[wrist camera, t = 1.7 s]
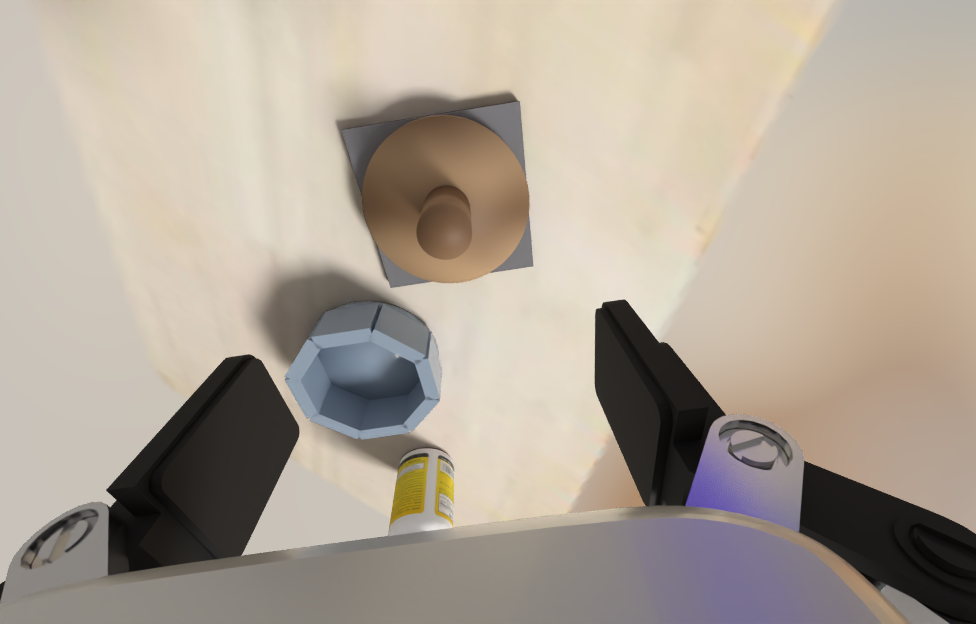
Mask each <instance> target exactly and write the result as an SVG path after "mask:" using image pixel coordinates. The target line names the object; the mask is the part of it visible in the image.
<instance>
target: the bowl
mask: <svg viewBox="0 0 976 624" xmlns="http://www.w3.org/2000/svg"><path fill="white" fill-rule="evenodd" d="M285 377H286V379H285V382H286V383H287V385H288V387H289V389H290V390H291V392H292V394H293V396H294V397H295V399H296V401H297V402H298V404H299V406H300V408H301V409H302V411H303V413H304V415H305V416H306V418H311V419H310V421H312V422H314V423H317V424H319V425H322V426H325V427H327V428H330V429H332V430H335V431H337V432H340V433H342V434H345V435H347V436H350V437H352V438H355V439H358V438H359V436H360V438H361V440H363V439H370V438H377V437H384V436H391V435H398V434H405V433H409V430H411V431H413V430H414V429H415V428H416V427H417V426H418V425H419V423H420V422H421V421H422V420H423V419H424V418H425V417H426V416H427V415H428V414H429V412H430V411H431V410H432V409H433V408H434V407H435V406H436V405H437V404H438V402H439V399H440V392H441V378H442V368H441V364H440V361H439V352H438V346H437V343H436V341H435V338H434V337H433V335H432V332H430V330H429V328H428V327H427V326H426V325H425V324H424V323H423V322H422V321H421V320H419V319H418V318H417V317H416V316H414V315H413V314H411V313H410V312H408V311H406V310H404V309H402V308H400V307H397V306H394V305H391V304H387V303H383V302H375V301H360V302H353V303H348V304H345V305H342V306H339V307H337V308H335V309H333V310H329V311H326V313H325V314H324V313H323V314H322V316H321V317H320V319H319V321H318V322H317V324H316V325H315V327H314V329H313V330H312V332H311V334H310V335H309V337H308V339H307V340H306V342H305V343H304V345H303V347H302V348H301V350H300V352H299V353H298V355H297V357H296V358H295V360H294V362H293V363H292V365H291V367H290V368H289V370H288V372H287V373H286V375H285Z"/></svg>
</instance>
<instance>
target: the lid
mask: <svg viewBox="0 0 976 624" xmlns="http://www.w3.org/2000/svg"><path fill="white" fill-rule="evenodd" d="M362 204H363V212H364V216H365V220H366V223H367V226H368V228H369V231H370V233H371V235H372V237H373V239H374V240H375V242H376V244H377V245H378V246H379V248H380V249H381V250H382V252H383V253H384V254H385V255H386V256H387V257H388V258H389V259H390V260H391V261H392V262H393V263H395V264H396V265H397V266H399V267H400V268H401V269H403V270H404V271H406V272H408V273H410V274H412V275H414V276H416V277H419V278H422V279H425V280H429V281H432V282H439V283H459V282H465V281H470V280H473V279H476V278H479V277H482V276H484V275H486V274H488V273H490V272H491V271H493V270H494V269H496V268H497V267H499V266H500V265H501V264H502V263H503V262H505V260H506V259H507V258H508V257H509V256H510V255H511V254H512V253H513V251H514V250H515V248H516V247H517V245H518V244H519V242H520V240H521V238H522V236H523V233H524V231H525V228H526V224H527V220H528V215H529V191H528V185H527V181H526V178H525V174H524V172H523V170H522V167H521V165H520V163H519V161H518V160H517V158H516V156H515V155H514V153H513V152H512V151H511V149H510V148H509V147H508V146H507V144H506V143H505V142H504V141H503V140H502V139H501V138H500V137H499V136H498V135H496V134H495V133H494V132H492V131H491V130H490V129H488V128H487V127H485V126H483V125H481V124H479V123H477V122H475V121H472V120H469V119H467V118H463V117H458V116H451V115H435V116H428V117H424V118H419V119H417V120H414V121H412V122H409V123H407V124H405V125H404V126H402V127H400V128H399V129H397V130H396V131H395V132H393V133H392V134H391V135H390V136H388V137H387V138H386V139H385V140H384V141H383V143H382V144H381V145H380V146H379V147H378V149H377V150H376V152H375V153H374V155H373V156H372V158H371V160H370V162H369V164H368V167H367V170H366V173H365V176H364V181H363V188H362Z"/></svg>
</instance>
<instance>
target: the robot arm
mask: <svg viewBox="0 0 976 624" xmlns="http://www.w3.org/2000/svg"><path fill="white" fill-rule="evenodd" d="M595 389H596V394H597V397H598V399H599V401H600V404H601V406H602V408H603V410H604V413H605V415H606V417H607V420H608V422H609V424H610V427H611V429H612V431H613V433H614V436H615V438H616V440H617V443H618V445H619V447H620V450H621V452H622V454H623V456H624V459H625V461H626V463H627V466H628V468H629V470H630V473H631V475H632V477H633V479H634V482H635V484H636V486H637V489H638V491H639V493H640V496H641V498H642V500H643V502H644V504H645V505H646V506H644V507H627V508H615V509H605V510H596V511H587V512H578V513H569V514H559V515H550V516H541V517H533V518H526V519H518V520H510V521H502V522H494V523H486V524H478V525H470V526H462V527H455V528H447V529H439V530H431V531H423V532H416V533H408V534H400V535H393V536H386V537H377V538H370V539H362V540H355V541H347V542H340V543H333V544H325V545H318V546H310V547H302V548H295V549H287V550H281V551H273V552H266V553H258V554H251V555H244V556H241V555H242V553H243V551H244V549H245V547H246V545H247V543H248V541H249V539H250V537H251V535H252V533H253V531H254V529H255V527H256V525H257V523H258V520H259V518H260V516H261V514H262V512H263V510H264V508H265V506H266V504H267V502H268V500H269V498H270V496H271V494H272V491H273V490H274V488H275V485H276V483H277V481H278V479H279V477H280V475H281V473H282V471H283V469H284V467H285V465H286V463H287V461H288V459H289V457H290V454H291V452H292V450H293V448H294V446H295V444H296V442H297V440H298V437H299V426H298V424H297V422H296V420H295V419H294V417H293V415H292V413H291V412H290V410H289V408H288V406H287V405H286V403H285V401H284V399H283V398H282V396H281V394H280V392H279V391H278V389H277V387H276V385H275V384H274V382H273V380H272V378H271V377H270V375H269V373H268V371H267V370H266V368H265V366H264V364H263V363H262V361H261V360H259V359H256V358H255V357H254V356H252V355H249V354H248V355H242V356H235V357H229V358H226V359H225V360H223V362H222V363H221V364H220V365H219V366H218V367H217V368H216V369H215V370H214V371H213V373H212V374H211V375H210V376H209V377H208V378H207V379H206V380H205V381H204V383H203V384H202V385H201V386H200V387H199V388H198V389H197V390H196V391H195V392H194V394H193V395H192V396H191V397H190V398H189V399H188V400H187V401H186V402H185V404H184V405H183V406H182V407H181V408H180V409H179V410H178V411H177V412H176V413H175V415H174V416H173V417H172V418H171V419H170V420H169V421H168V422H167V423H166V425H165V426H164V427H163V428H162V429H161V430H160V431H159V432H158V433H157V434H156V436H155V437H154V438H153V439H152V440H151V441H150V442H149V443H148V444H147V446H146V447H145V448H144V449H143V450H142V451H141V452H140V453H139V454H138V455H137V457H136V458H135V459H134V460H133V461H132V462H131V463H130V464H129V465H128V467H127V468H126V469H125V470H124V471H123V472H122V473H121V474H120V476H118V478H117V479H116V480H115V481H114V482H113V483H112V484H111V485H110V486H109V488H108V489H107V492H108V493H110V494H111V495H112V496H113V497H114V498H115V499H116V502H115V503H114V504H113V505H112V506H111V507H109V506H108V505H106V504H104V503H102V502H91V503H88V504H84V505H81V506H78V507H76V508H74V509H72V510H70V511H67V512H65V513H63V514H62V515H60V516H59V517H57V518H55V519H54V520H52V521H51V522H49V523H48V524H46V525H45V526H44V527H43V528H41V529H40V530H39V531H37V532H36V533H35V534H34V535H33V536H32V537H31V538H30V539H29V540H28V541H27V542H26V543H24V544H23V546H22V547H21V548H20V549H19V551H18V552H17V553H16V555H15V556H14V557H13V559H12V562H11V564H10V566H9V569H8V573H7V577H6V581H4V582H3V583H1V584H0V624H976V534H975V533H973V532H972V531H970V530H969V529H967V528H965V527H964V526H962V525H960V524H958V523H956V522H954V521H952V520H949V519H948V518H945V517H943V516H941V515H938V514H936V513H934V512H931V511H929V510H926V509H923V508H921V507H919V506H916V505H914V504H911V503H908V502H906V501H903V500H901V499H899V498H896V497H893V496H891V495H888V494H886V493H883V492H881V491H878V490H876V489H873V488H871V487H868V486H866V485H863V484H861V483H858V482H856V481H853V480H851V479H848V478H846V477H843V476H841V475H838V474H836V473H833V472H831V471H828V470H826V469H823V468H821V467H818V466H816V465H813V464H811V463H808V462H806V461H804V457H803V452H802V449H801V448H800V446H799V445H798V443H797V441H796V440H795V439H794V438H793V437H792V436H791V435H790V434H788V433H787V432H786V431H785V430H783V429H782V428H780V427H778V426H777V425H775V424H774V423H772V422H769V421H767V420H764V419H762V418H759V417H755V416H750V415H746V414H731V415H725V413H724V412H723V411H722V410H721V408H720V407H719V406H718V405H717V403H716V402H715V401H714V400H713V399H712V397H711V396H710V395H709V393H708V392H707V391H706V390H705V389H704V387H703V386H702V385H701V384H700V382H699V381H698V380H697V379H696V377H695V376H694V375H693V374H692V373H691V371H690V370H689V369H688V368H687V367H686V365H685V364H684V363H683V361H682V360H681V359H680V358H679V356H678V355H677V354H676V353H675V352H674V350H673V349H672V348H671V347H670V346H669V345H668V344H667V343H664V342H662V343H659V342H658V341H657V339H656V338H655V337H654V336H653V334H652V333H651V332H650V330H649V329H648V328H647V327H646V325H645V324H644V323H643V321H642V320H641V319H640V317H639V316H638V315H637V314H636V312H635V311H634V310H633V308H632V307H631V306H630V305H629V303H628V302H627V301H626V300H617V301H610V302H604V303H603V304H602V308H599V309H596V313H595Z"/></svg>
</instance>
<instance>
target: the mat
mask: <svg viewBox="0 0 976 624" xmlns="http://www.w3.org/2000/svg"><path fill="white" fill-rule="evenodd" d="M435 115H451V116H458V117H463V118H467V119H469V120H472V121H475V122H477V123H479V124H481V125H483V126H485V127H487V128H488V129H490V130H491V131H492V132H494V133H495V134H496V135H498V136H499V137H500V138H501V139H502V140H503V141H504V142H505V143H506V144H507V146H508V147H509V148H510V149H511V151H512V152H513V153H514V155H515V156H516V158H517V160H518V161H519V163H520V165H521V167H522V170H523V172H524V174H525V178H526V171H525V159H524V147H523V134H522V122H521V110H520V101H515V102H509V103H503V104H497V105H491V106H485V107H478V108H472V109H466V110H460V111H454V112H447V113H441V114H435ZM435 115H429V116H435ZM424 117H428V116H423V117H417V118H410V119H404V120H398V121H392V122H386V123H379V124H373V125H367V126H361V127H355V128H348V129H343V130H341V131H342V134H343V137H344V140H345V144H346V147H347V150H348V153H349V156H350V160H351V163H352V166H353V169H354V172H355V176H356V179H357V182H358V185H359V188H360V191H361V195H362V188H363V181H364V176H365V173H366V170H367V167H368V164H369V162H370V160H371V158H372V156H373V155H374V153H375V152H376V150H377V149H378V147H379V146H380V145H381V144H382V143H383V141H384V140H385V139H386V138H387V137H388V136H390V135H391V134H392V133H393V132H395V131H396V130H397V129H399V128H400V127H402V126H404V125H405V124H407V123H409V122H412V121H414V120H417V119H419V118H424ZM377 246H378V245H377ZM378 249H379V252H380V255H381V258H382V262H383V265H384V268H385V271H386V274H387V278H388V281H389V284H390V287H391V288H393V287H400V286H406V285H413V284H420V283H426V282H432V281H429V280H425V279H422V278H419V277H416V276H414V275H412V274H410V273H408V272H406V271H404V270H403V269H401V268H400V267H399V266H397V265H396V264H395V263H393V262H392V261H391V260H390V259H389V258H388V257H387V256H386V255H385V254H384V253H383V252H382V250H381V249H380V248H379V246H378ZM532 266H533V257H532V245H531V233H530V220H529V215H528V220H527V224H526V228H525V231H524V233H523V236H522V238H521V240H520V242H519V244H518V245H517V247H516V248H515V250H514V251H513V253H512V254H511V255H510V256H509V257H508V258H507V259H506V260H505V262H503V263H502V264H501V265H500V266H499V267H497V268H496V269H494V270H493V271H491V272H490V273H492V272H499V271H505V270H512V269H518V268H525V267H532Z"/></svg>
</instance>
